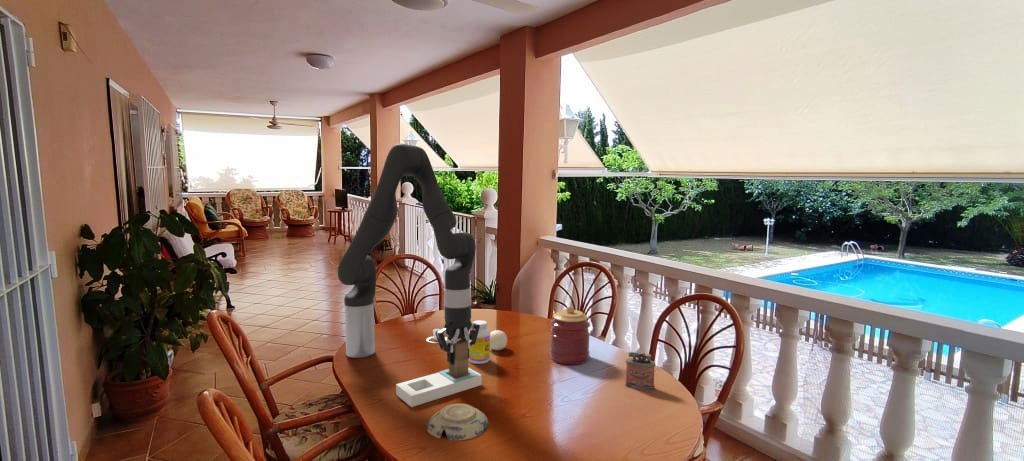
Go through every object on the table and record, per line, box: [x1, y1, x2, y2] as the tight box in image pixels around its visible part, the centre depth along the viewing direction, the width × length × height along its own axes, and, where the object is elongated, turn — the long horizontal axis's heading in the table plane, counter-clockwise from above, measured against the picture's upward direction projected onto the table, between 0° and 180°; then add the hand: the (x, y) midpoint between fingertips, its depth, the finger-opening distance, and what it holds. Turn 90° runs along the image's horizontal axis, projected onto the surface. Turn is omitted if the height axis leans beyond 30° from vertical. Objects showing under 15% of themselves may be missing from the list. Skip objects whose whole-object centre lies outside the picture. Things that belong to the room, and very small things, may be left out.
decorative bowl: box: [426, 403, 490, 441], centre depth 114 cm, size 15×4×15 cm
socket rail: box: [395, 367, 483, 408], centre depth 133 cm, size 9×22×3 cm, turn 128°
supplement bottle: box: [468, 319, 491, 365], centre depth 154 cm, size 7×7×13 cm
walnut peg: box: [448, 338, 469, 379], centre depth 136 cm, size 4×4×10 cm
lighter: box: [624, 351, 656, 391], centre depth 135 cm, size 8×3×10 cm, turn 71°
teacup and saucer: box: [425, 328, 447, 344], centre depth 175 cm, size 9×8×4 cm
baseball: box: [490, 329, 508, 351], centre depth 165 cm, size 7×7×7 cm
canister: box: [549, 305, 591, 365], centre depth 157 cm, size 13×13×18 cm
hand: (458, 361), depth 136 cm, fingers closed on walnut peg, 4 cm apart
